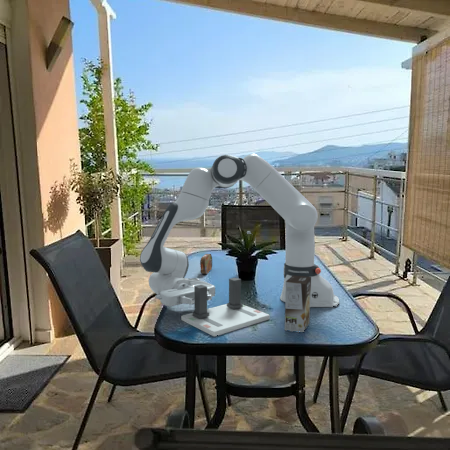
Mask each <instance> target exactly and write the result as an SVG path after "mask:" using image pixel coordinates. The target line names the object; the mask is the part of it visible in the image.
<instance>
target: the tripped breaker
mask: <svg viewBox="0 0 450 450" xmlns="http://www.w3.org/2000/svg"><path fill="white" fill-rule="evenodd" d="M194 300H195V301H194V302H195V303H194V304H193V305H194V306H193V307H194V311H192V312H191V313H192V316H194V317H196V318H198V319H201V318H205V317H209V313H208V312H207V309H208V300H207V286H204V285H198V286H194Z"/></svg>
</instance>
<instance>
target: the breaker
mask: <svg viewBox="0 0 450 450" xmlns="http://www.w3.org/2000/svg"><path fill="white" fill-rule="evenodd" d="M241 300H242V279H241V278H238V277H231V278H228V303H226V304H227V307H229V308H232V309H238V308H241V307H243V305H244V304H243V303H242V301H241Z"/></svg>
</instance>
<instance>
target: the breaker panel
mask: <svg viewBox="0 0 450 450" xmlns="http://www.w3.org/2000/svg"><path fill="white" fill-rule="evenodd" d="M207 312H208V313H209V317H205V318H201V319H198V318H196V317H194V316H192V312H190V313H187V314H183V315H181V319H180V320H181V321H182V322H185V323H187V325H190V326H193V327H194V328H196V329H199V330H201V331H202V332H204V333H206V334H208V335H210V336H212V337H214V338H215V337H218V336H221V335H224V334H227V333H230V332H234V331H236V330H239V329H242V328H246V327H249V326H253V325H256V324H258V323H261V322H265V321H268V320H270V317H271V316H270V314H268V313H266V312H263V311H261V310H258V309H255V308H253V307H251V306H247V305H244V304H243V307H241V308H238V309H232V308H229V307H227V303H226V304H221V305H218V306H214V307H210V308H207ZM217 335H218V336H217Z"/></svg>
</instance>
